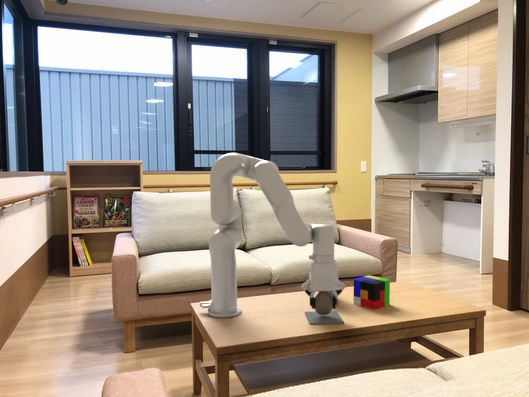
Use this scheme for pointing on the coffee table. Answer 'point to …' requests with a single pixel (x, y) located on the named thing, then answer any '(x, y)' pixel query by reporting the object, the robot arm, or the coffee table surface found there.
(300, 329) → the coffee table surface
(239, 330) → the coffee table surface
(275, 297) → the coffee table surface
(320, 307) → the vase
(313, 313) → the mat
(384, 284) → the puzzle toy
